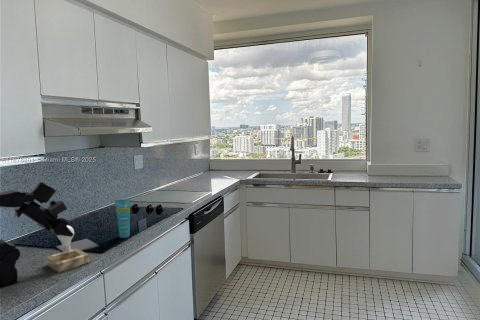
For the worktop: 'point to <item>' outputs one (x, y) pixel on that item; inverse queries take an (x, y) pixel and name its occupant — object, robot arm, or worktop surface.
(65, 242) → the lightbulb
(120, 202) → the tube
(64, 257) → the holder block
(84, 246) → the mat
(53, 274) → the worktop surface
